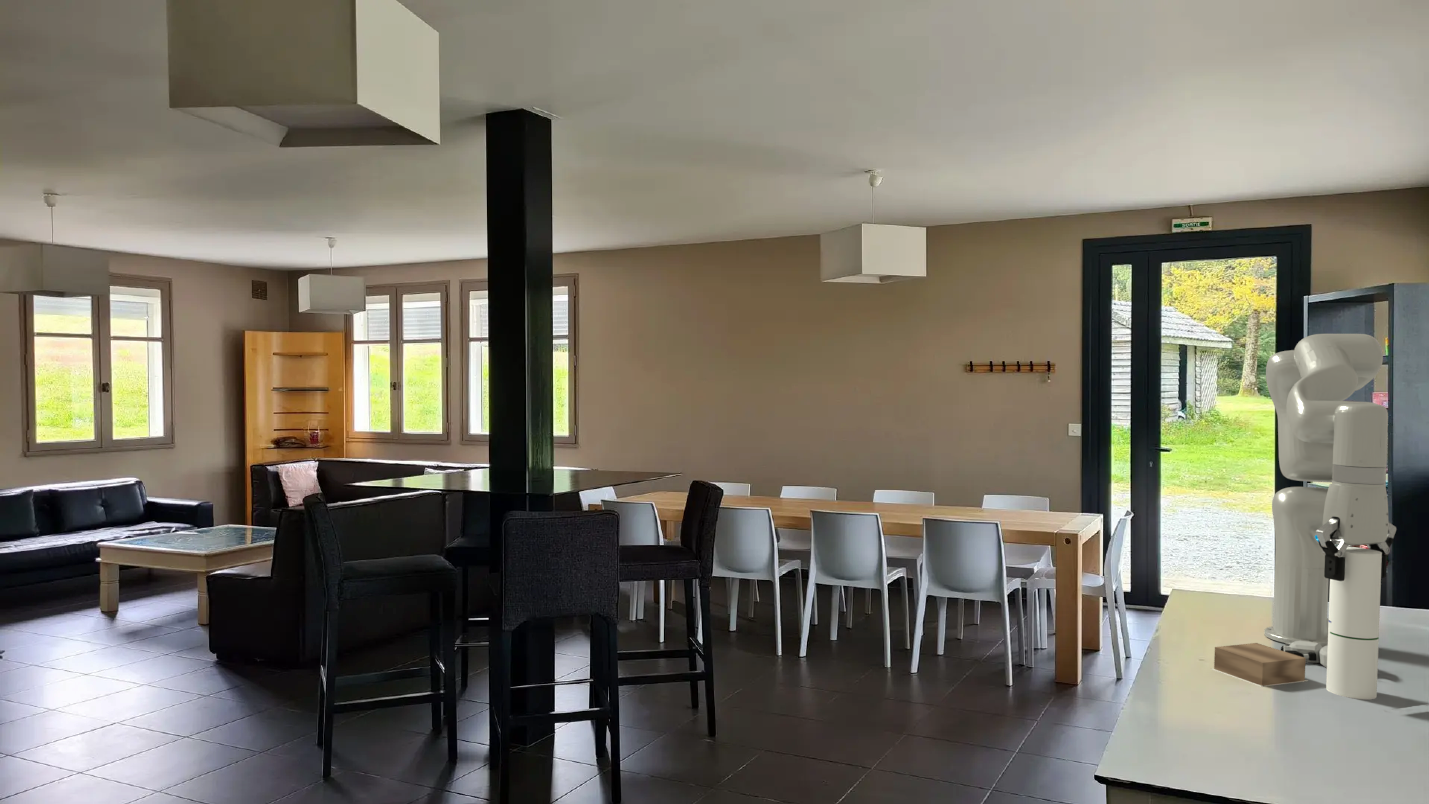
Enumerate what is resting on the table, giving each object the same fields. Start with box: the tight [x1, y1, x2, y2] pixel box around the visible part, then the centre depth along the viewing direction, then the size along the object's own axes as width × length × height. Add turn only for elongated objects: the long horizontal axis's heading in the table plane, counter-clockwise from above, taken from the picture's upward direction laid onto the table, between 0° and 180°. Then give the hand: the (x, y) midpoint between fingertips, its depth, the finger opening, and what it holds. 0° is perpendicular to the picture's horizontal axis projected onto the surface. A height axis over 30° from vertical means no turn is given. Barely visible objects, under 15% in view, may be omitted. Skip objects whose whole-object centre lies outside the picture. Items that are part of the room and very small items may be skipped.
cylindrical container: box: [1325, 546, 1382, 700], centre depth 164 cm, size 7×7×25 cm
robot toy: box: [1280, 641, 1328, 669], centre depth 181 cm, size 12×4×15 cm
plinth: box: [1213, 642, 1306, 687], centre depth 173 cm, size 10×10×4 cm
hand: (1355, 577), depth 164 cm, fingers open, 9 cm apart
